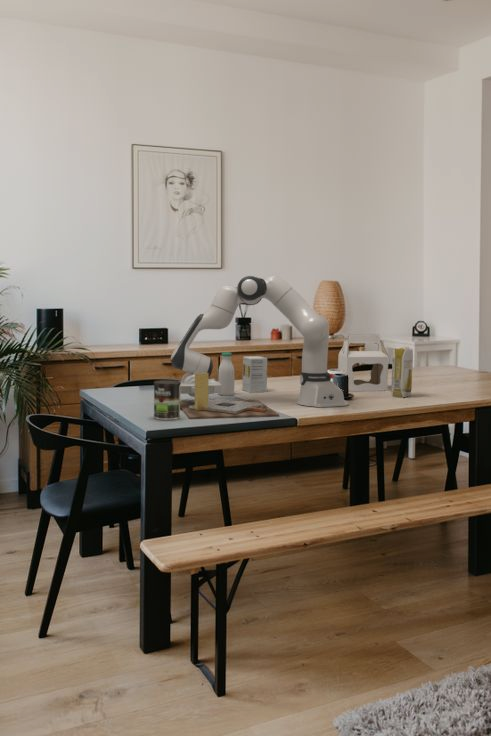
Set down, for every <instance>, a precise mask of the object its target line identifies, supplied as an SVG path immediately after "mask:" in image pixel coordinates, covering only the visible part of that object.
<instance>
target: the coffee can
mask: <svg viewBox="0 0 491 736" xmlns="http://www.w3.org/2000/svg"><path fill="white" fill-rule="evenodd" d="M180 384H181V380H173V379H172V380H171V379H168V380H167V379H163V380H162V379H160V380H155V381H153V385H154V386H153V388H154V390H153V392H154V393H153V394H154V395H153V399H154V400H153V418H154V419H155V420H159V421H174V420H175V419H176V420H179V419H181V408H180V401H181V394H180Z"/></svg>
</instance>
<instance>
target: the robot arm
mask: <svg viewBox="0 0 491 736" xmlns="http://www.w3.org/2000/svg"><path fill="white" fill-rule="evenodd" d="M262 299H265V300H268V301H270V303H271V304H272V305H273V306H274V307H275V308H276V309H277V310H278V311H280V313H281V314H282V315H283V316H284V317H285V318H286V319H287V320H288V321H289V322H290V323H291V324H292V326H293V327H294V328H295V329H296V330H297V331H298V332H299V334H300V335H302V336H303V346H302V353H301V371H300V376H299V379H300V380H299V382H300V383H299V384H300V391H299V394H298V399H297V404H298V405H300V406H306V407H315V408H330V407H331V408H333V407H346V406H349V405H350V402H349V401H347V400H345V397H344V392H343V390H342V389H340V388H339V387H338V385H337V384H335V383H334V382H333V381H332V379H333V380H334V378H335V377H336V376H335V374H334V373H329V372H328V355H329V354H328V353H329V342H330V341H329V339H330V324H329V321H328V319H327V318H326V317H324V316H323V315H321V314H318V312H316V310H315V309H314V308H313V307H312V306H311V305H310V303H308V302H307V301H306V299H304V297H303V296H302V295H301V294H299V292H298V291H296V289H294V288H293V287H292V286H291V285H290V284H289V282H286V281H285V280H284V279H283V278H281V277H280V276H277V275H270V276H267V277H266V278H265V279H264V278H262V277H257V276H254V275H253V276H252V275H246V276H244V277H243V278H241V279H240V280H239V281H238V284H237V286H235V287H234V286H231V285H223V286H221V287H220V288H219V290H218V291H217V292H216V295H215V296H214V297H213V300H212V302H211V304H210V306H209V308H208V309H207V310H206V311H205V312H204V313H200V314H199V315H198V316H197V317H196V318H195V319H194V321H193V322H192V323H191V325H190V326H189V328H188V330H187V331H186V333H185V335H184V336H183V338H182V340H181V341H180V342H179V344H178V345H177V347H176V348H175V349H174V350H173V352H172V354H171V356H170V363H171V365H172V367H173V368H174V369H177V370H180V371H184V372H186V373H185V374H183V376H182V377H181V380H180V382H181V384H180V395H182V394H183V395H189V397H193V398H195V373H203V372H206V373H209V382H208V395H213V394H218V393H221V384H220V383H219V382H218V380H217V381H216V378H211V375H212V373H213V369H214V364H213V360H212V358H211V357H210V356H207V355H205V354H204V353H200V352H198V351H195V350H192V349H191V348H190V346H191V344H192V343H193V341H194V340H195V338H196V337H197V335H198V334H199V332H201V331H203V330H223V329H225V328H227V327H229V326H230V324H231V323H232V321H233V318H234V316H235V314H236V311H237V308H238V307H239V306H240V305H243V306H244V305H245V306H254V305H257V304H259V303H260V302H261V301H262Z"/></svg>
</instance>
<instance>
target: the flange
mask: <svg viewBox="0 0 491 736" xmlns="http://www.w3.org/2000/svg"><path fill="white" fill-rule="evenodd" d="M209 378H210V377H209V373H206V372H203V373H195V397H194V401H195V404H194V405H191V406H189V408H191V409H195V410H197V411H200V410H208V411H217V412H225V413H234V414H237V413H240V412H243V411H246V410H252V411H260V412H264V411H266V408H257V407H259V406H262V403H263V402H262V403H253V402H244V401H234V400H233V399H232V400H231V399H223V398H215V399H210V400H209V394H208V382H209ZM224 402H228V403H230V405H229V407H227V406H221V405H222V403H224Z"/></svg>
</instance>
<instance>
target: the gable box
mask: <svg viewBox="0 0 491 736" xmlns="http://www.w3.org/2000/svg"><path fill="white" fill-rule="evenodd" d="M380 338H381V337H380V335H379V334H376V333H375V334H373V333H371V334H369V333H367V334H362V333H361V334H359V333H358V334H351V333H350V334H348V336H347V339H346V340H343V341H342V347H341V349H340V350H339V353H338V359H337V371H338V370H344V371H346V372H347V374H348V377H349V391H350V392H352V391H354V392H385V391H384V390H387V391H388V380H389V379H388V378H389V377H388V376H389V355H388V353H387V350H386V347H385V341H384V340H381V339H380ZM351 344H377V347H378V348H377V350H349V349H350V348H349V346H350V345H351ZM355 364H364V365H365V364H367V365H372V368H371V371H370V379H369V380H363V379H355V374H354V372H353V366H354V365H355ZM350 392H349V393H350Z"/></svg>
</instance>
